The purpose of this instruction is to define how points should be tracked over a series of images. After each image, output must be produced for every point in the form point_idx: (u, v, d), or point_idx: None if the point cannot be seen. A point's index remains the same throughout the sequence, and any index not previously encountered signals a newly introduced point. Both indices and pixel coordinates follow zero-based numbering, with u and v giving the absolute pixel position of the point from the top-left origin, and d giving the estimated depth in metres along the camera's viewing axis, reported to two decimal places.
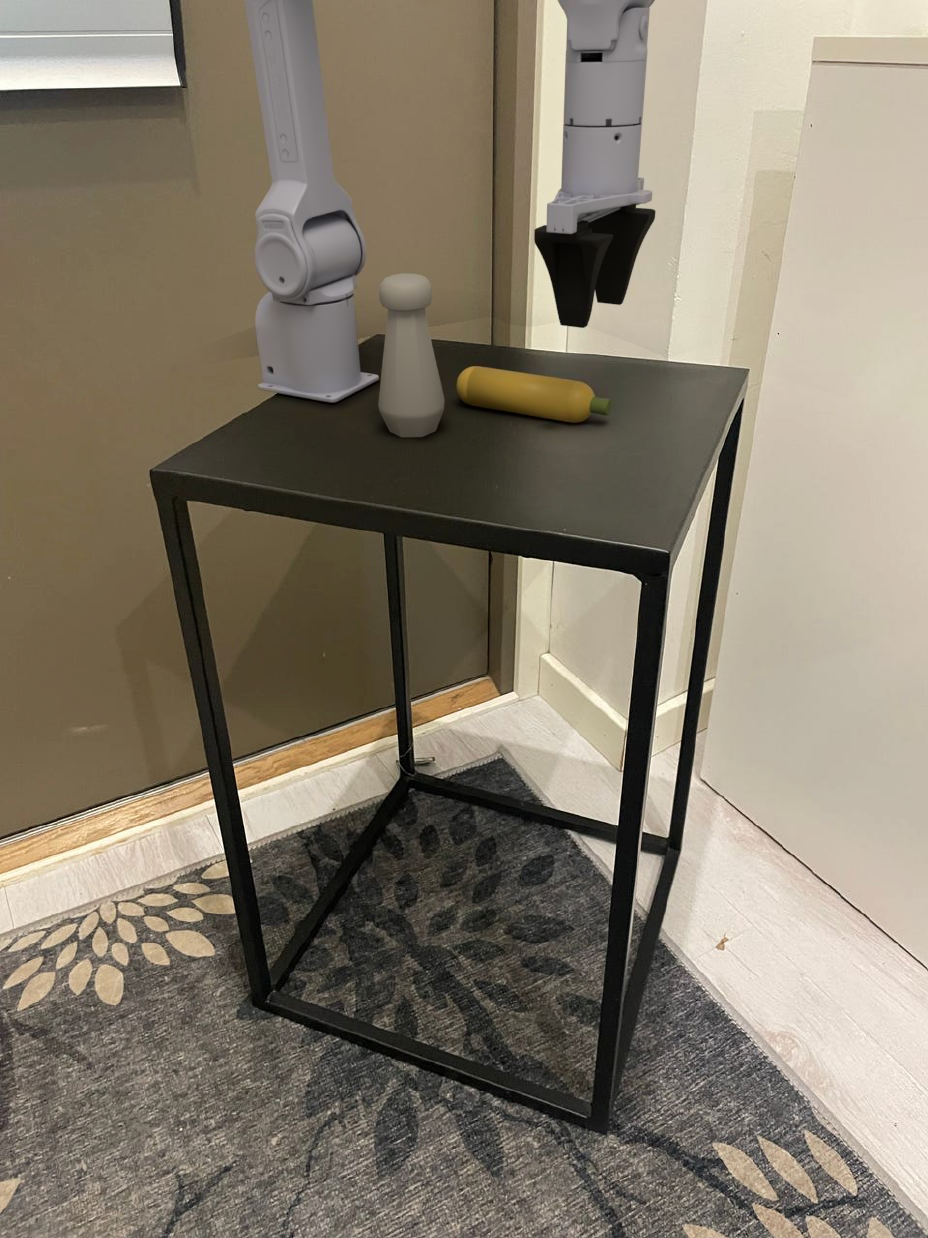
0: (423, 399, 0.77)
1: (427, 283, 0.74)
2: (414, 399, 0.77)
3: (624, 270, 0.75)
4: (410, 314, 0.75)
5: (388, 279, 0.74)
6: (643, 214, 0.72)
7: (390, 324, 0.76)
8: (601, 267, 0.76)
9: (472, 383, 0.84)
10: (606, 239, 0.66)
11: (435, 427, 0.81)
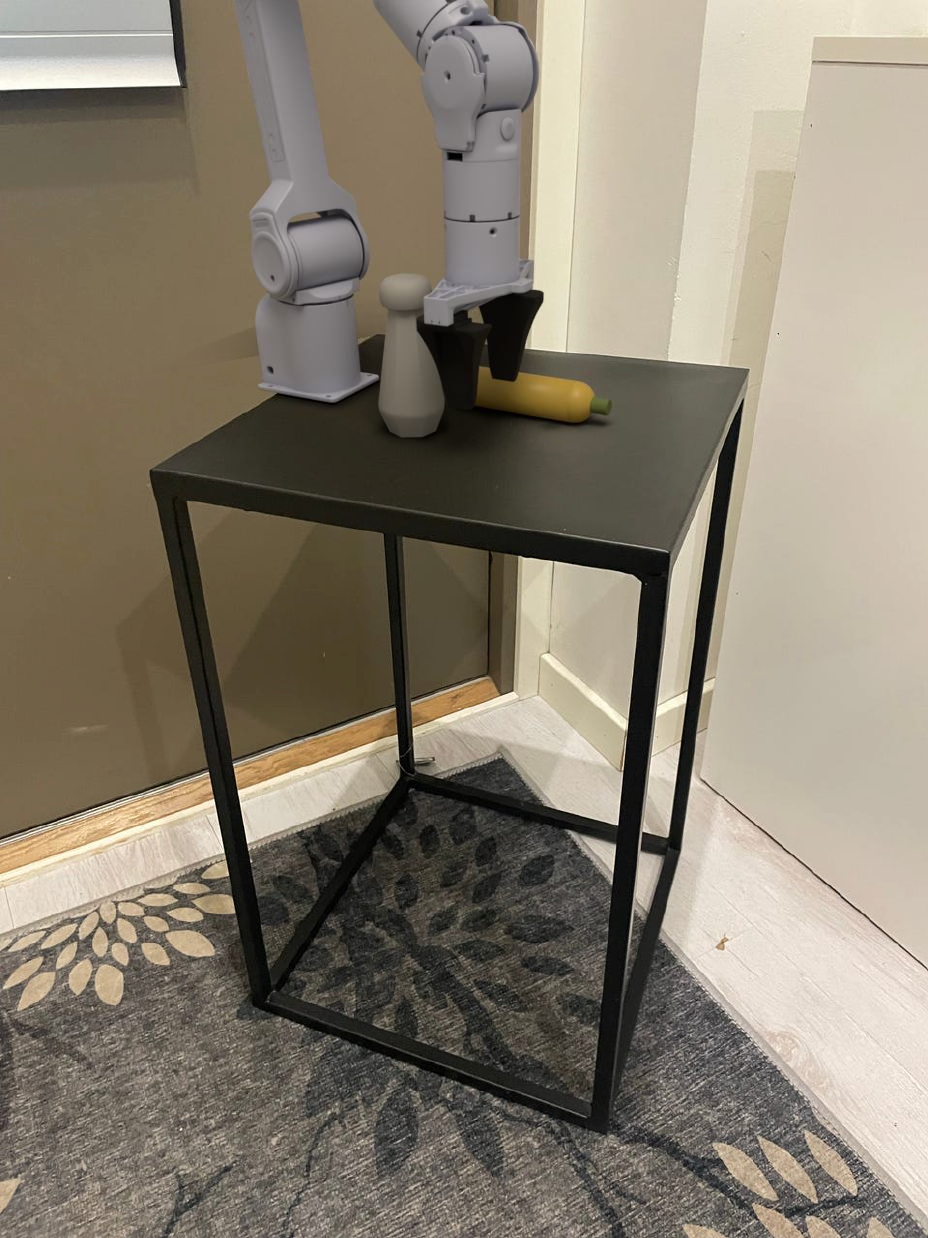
0: (423, 399, 0.77)
1: (427, 283, 0.74)
2: (414, 399, 0.77)
3: (515, 350, 0.77)
4: (410, 314, 0.75)
5: (388, 279, 0.74)
6: (530, 297, 0.74)
7: (390, 324, 0.76)
8: (494, 345, 0.78)
9: None
10: (483, 330, 0.68)
11: (435, 427, 0.81)
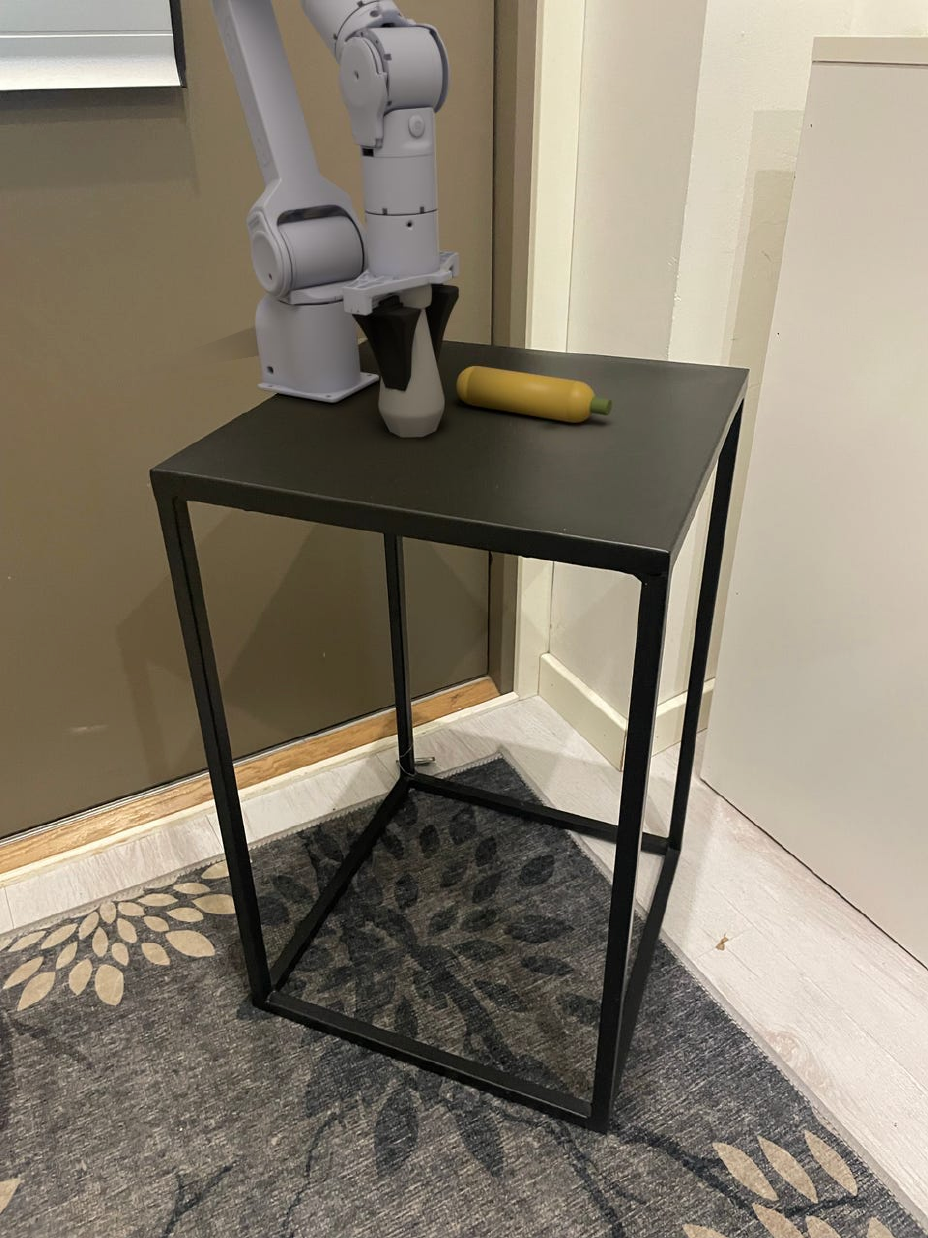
0: (423, 399, 0.77)
1: None
2: (414, 399, 0.77)
3: (432, 344, 0.79)
4: None
5: None
6: (444, 293, 0.76)
7: None
8: None
9: (473, 383, 0.84)
10: (412, 314, 0.72)
11: (435, 427, 0.81)
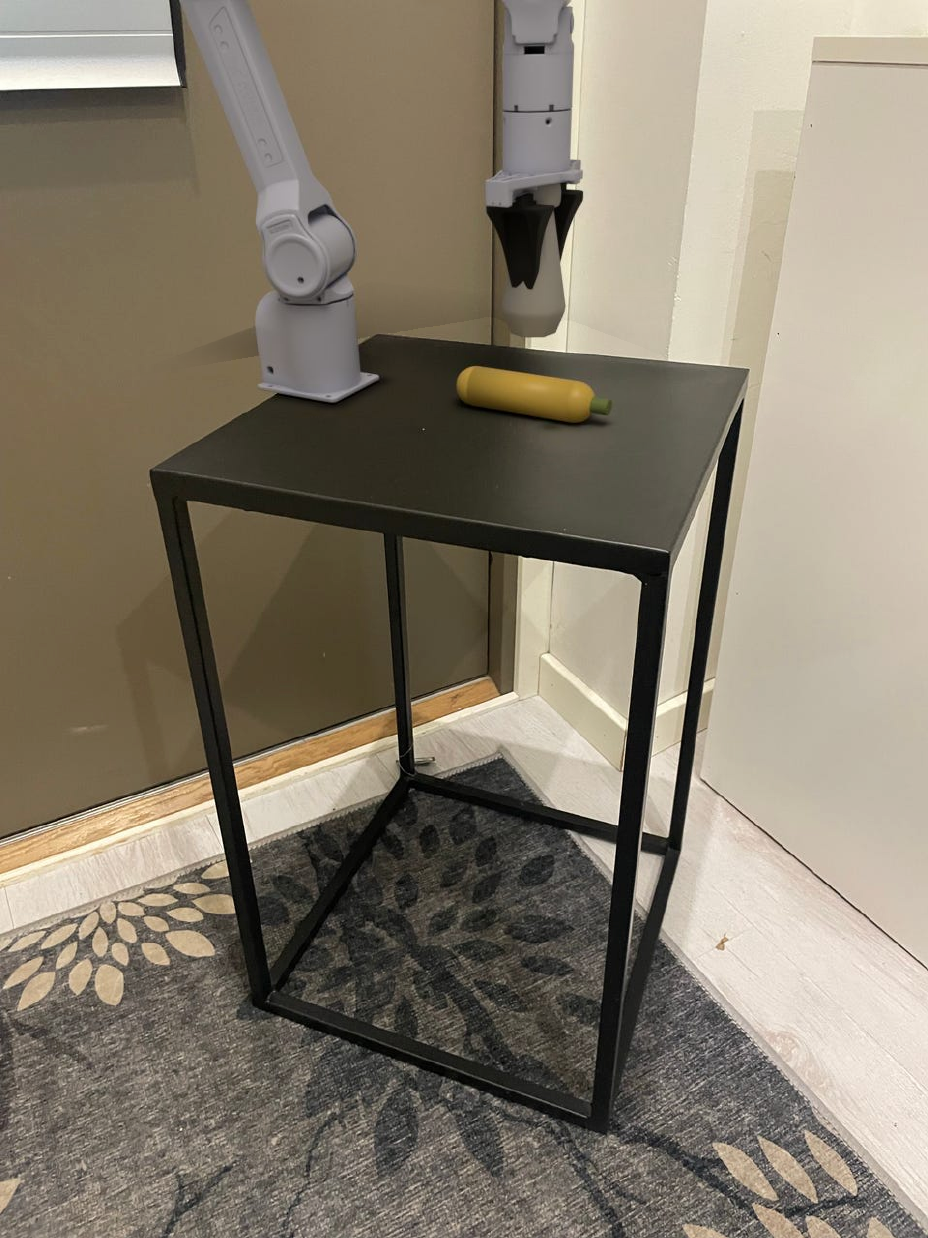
0: (548, 298, 0.81)
1: (558, 183, 0.78)
2: (540, 297, 0.81)
3: None
4: None
5: None
6: (571, 194, 0.79)
7: None
8: None
9: (472, 383, 0.84)
10: (548, 209, 0.75)
11: (555, 329, 0.84)
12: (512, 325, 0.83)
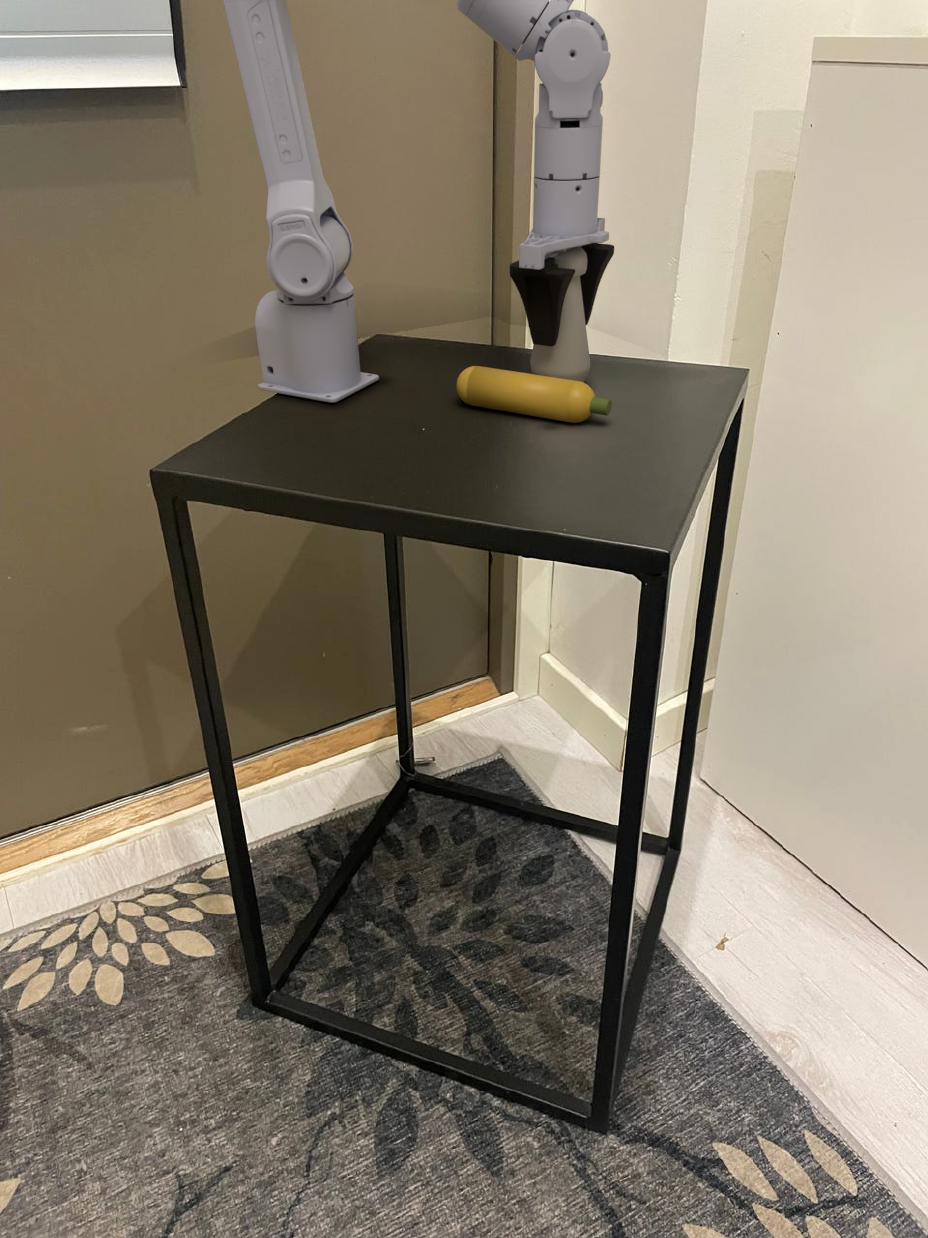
0: (575, 359, 0.86)
1: (584, 253, 0.83)
2: (567, 358, 0.86)
3: (588, 296, 0.88)
4: None
5: None
6: (603, 250, 0.85)
7: None
8: None
9: (473, 383, 0.84)
10: (569, 273, 0.79)
11: None
12: None
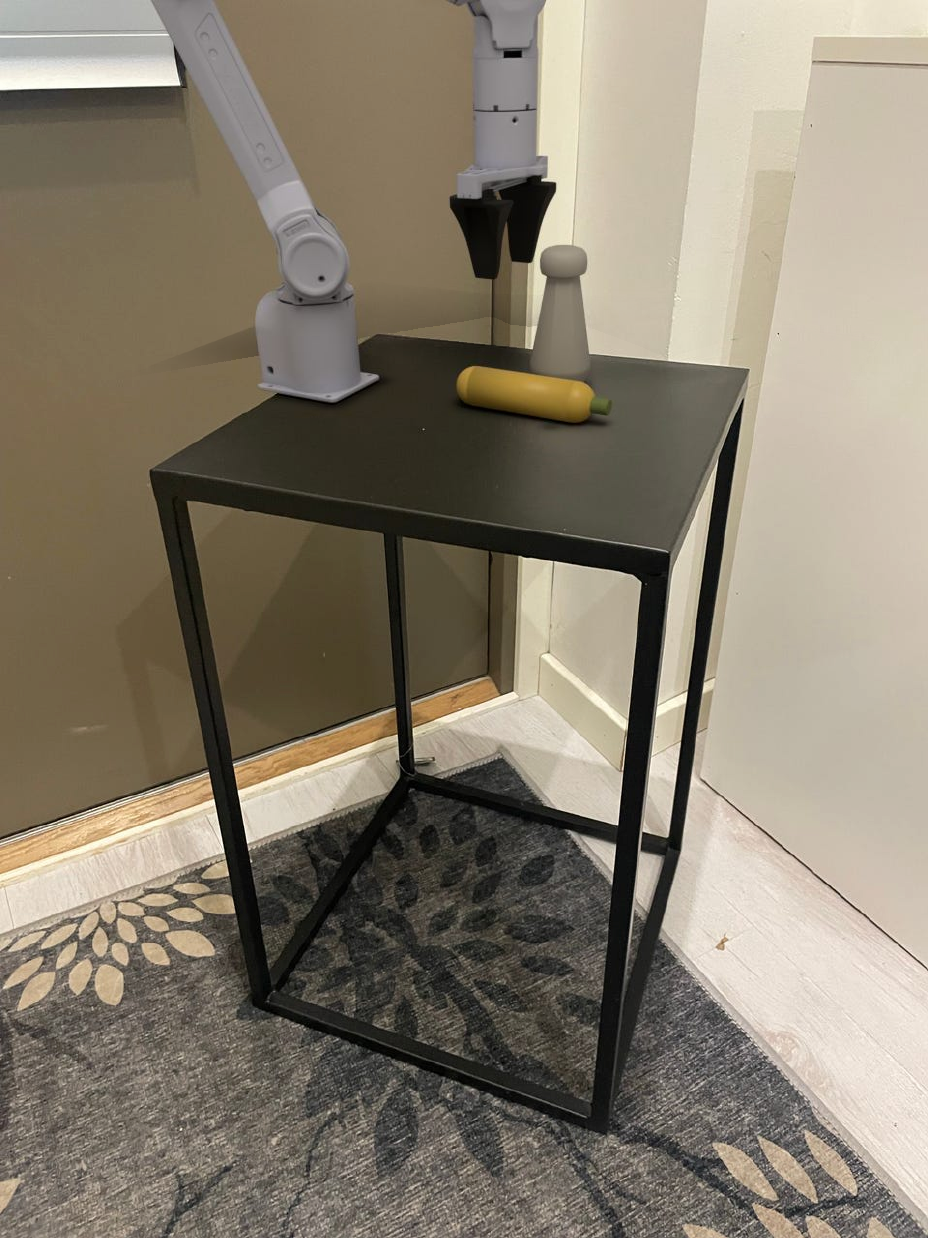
0: (575, 359, 0.86)
1: (584, 253, 0.83)
2: (567, 358, 0.86)
3: (531, 234, 0.90)
4: (568, 281, 0.83)
5: (549, 249, 0.83)
6: (545, 185, 0.87)
7: (548, 290, 0.84)
8: (513, 231, 0.91)
9: (473, 383, 0.84)
10: (506, 204, 0.81)
11: None
12: None
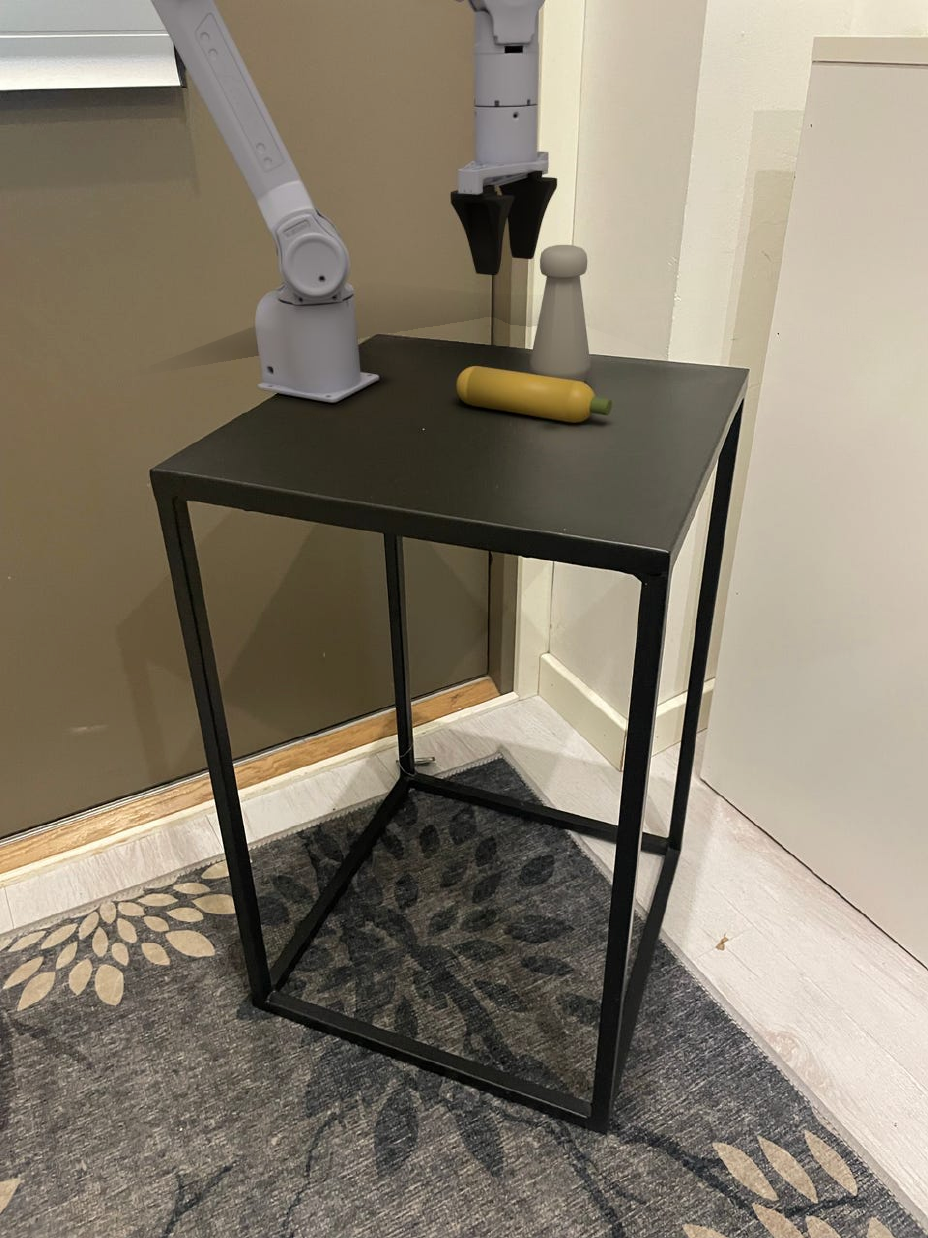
0: (575, 359, 0.86)
1: (584, 253, 0.83)
2: (567, 358, 0.86)
3: (532, 229, 0.90)
4: (568, 281, 0.83)
5: (549, 249, 0.83)
6: (545, 181, 0.87)
7: (548, 290, 0.84)
8: (514, 227, 0.90)
9: (472, 383, 0.84)
10: (507, 199, 0.80)
11: None
12: None
